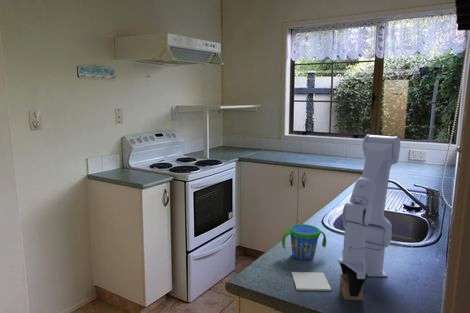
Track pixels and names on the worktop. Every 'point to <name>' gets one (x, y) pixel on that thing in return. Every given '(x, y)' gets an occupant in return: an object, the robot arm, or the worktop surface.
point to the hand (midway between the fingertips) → (350, 290)
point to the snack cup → (303, 240)
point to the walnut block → (345, 289)
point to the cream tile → (310, 281)
